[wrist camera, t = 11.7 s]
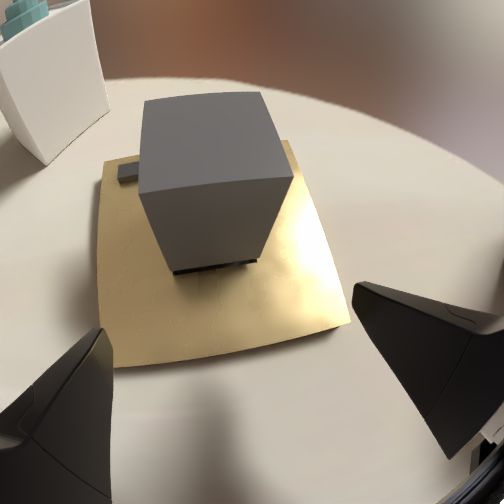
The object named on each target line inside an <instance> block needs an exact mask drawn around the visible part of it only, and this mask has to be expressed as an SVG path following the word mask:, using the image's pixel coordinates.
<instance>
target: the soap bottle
mask: <svg viewBox="0 0 504 504" xmlns="http://www.w3.org/2000/svg"><path fill="white" fill-rule="evenodd" d="M5 15H6V19H7V22H5V23H4V24H2V25H1V26H0V30H1V33H2V35H1V36H0V110H1V112H2V113H3V115H4V117H5V119H6V121H7V123H8V125H9V126H10V128H11V130H12V132H13V133H14V135H15V137H16V138H17V140H18V141H19V142H20V143H21V144H22V145H23V146H24V147H25V148H26V149H27V150H28V151H30V152H31V153H32V154H33V155H34V156H35V157H36V158H37V159H38V160H40V161H41V162H42V163H43V164H44V165H46V166H47V165H48V164H49V163H50V162H51V161H52V160H53V159H54V158H55V157H56V156H57V155H58V154H59V153H60V152H62V151H63V150H64V149H65V148H66V147H67V146H68V145H69V144H70V143H71V142H72V141H73V140H75V139H76V138H77V137H78V136H79V135H80V134H81V133H83V132H84V131H85V130H86V129H87V128H88V127H90V126H91V125H92V124H93V123H94V122H96V121H97V120H98V119H99V118H101V117H102V116H103V115H105V114H106V113H107V112H109V111H110V110H111V106H110V102H109V99H108V95H107V91H106V87H105V83H104V79H103V74H102V70H101V65H100V61H99V56H98V51H97V46H96V41H95V36H94V29H93V23H92V17H91V9H90V3H89V0H73V1H68V2H63V3H60V4H56V5H52V6H49V7H48V5H47V1H43V2H40V3H38V0H13V4H11V5H10V6H8V7H7V8H6V9H5Z"/></svg>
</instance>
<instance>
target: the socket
mask: <svg viewBox="0 0 504 504" xmlns="http://www.w3.org/2000/svg"><path fill="white" fill-rule="evenodd" d="M280 141H281V143H282V146H283V148H284V151H285V153H286V156H287V159H288V161H289V164H290V166H291V169H292V172H293V175H294V178H293V180H292V183H291V185H290V187H289V190H288V192H287V195H286V197H285V199H284V202H283V204H282V206H281V209H280V211H279V213H278V216H277V218H276V221H275V223H274V225H273V228H272V230H271V232H270V235H269V237H268V239H267V242H266V244H265V246H264V249H263V251H262V253H261V256H260V258H257V259H250V260H243V261H237V262H230V263H224V264H217V265H210V266H204V267H197V268H190V269H183V270H177V271H170V270H169V268H168V266H167V263H166V261H165V259H164V256H163V254H162V252H161V250H160V247H159V245H158V243H157V240H156V238H155V235H154V233H153V231H152V228H151V226H150V223H149V221H148V218H147V216H146V213H145V211H144V208H143V205H142V203H141V200H140V197H139V195H138V180H139V157H140V155H135V156H130V157H125V158H120V159H115V160H111V161H106V162H104V166H103V174H102V182H101V191H100V202H99V214H98V233H97V288H98V306H99V319H100V328H104V329H105V331H106V333H107V335H108V338H109V340H110V342H111V344H112V347H113V368H120V367H132V366H143V365H152V364H161V363H169V362H177V361H184V360H191V359H197V358H204V357H210V356H215V355H221V354H227V353H232V352H237V351H242V350H247V349H252V348H257V347H261V346H266V345H270V344H274V343H279V342H283V341H287V340H291V339H295V338H299V337H303V336H307V335H310V334H314V333H318V332H321V331H325V330H328V329H332V328H335V327H338V326H342V325H345V324H347V323H350V322H351V321H350V317H349V313H348V310H347V306H346V303H345V299H344V296H343V292H342V289H341V286H340V282H339V279H338V276H337V272H336V269H335V266H334V263H333V260H332V257H331V254H330V251H329V248H328V245H327V242H326V239H325V236H324V233H323V230H322V227H321V224H320V221H319V219H318V216H317V213H316V210H315V208H314V205H313V202H312V200H311V197H310V194H309V192H308V189H307V186H306V184H305V181H304V179H303V176H302V174H301V171H300V169H299V166H298V164H297V161H296V159H295V156H294V154H293V152H292V149H291V147H290V145H289V142H288V140H280Z"/></svg>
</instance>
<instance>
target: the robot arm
mask: <svg viewBox="0 0 504 504" xmlns="http://www.w3.org/2000/svg"><path fill="white" fill-rule="evenodd" d="M352 307H353V309H354V311H355V313H356V315H357V316H358V318H359V320H360V322H361V323H362V325H363V327H364V329H365V331H366V332H367V334H368V336H369V338H370V339H371V341H372V342H373V343H374V345H375V346H376V348H377V349H378V351H379V352H380V354H381V355H382V356H383V358H384V359H385V361H386V362H387V364H388V365H389V367H390V368H391V370H392V371H393V373H394V374H395V375H396V377H397V378H398V380H399V381H400V383H401V384H402V386H403V387H404V389H405V391H406V392H407V394H408V395H409V397H410V398H411V400H412V401H413V403H414V404H415V406H416V408H417V409H418V411H419V412H420V414H421V415H422V417H423V419H424V420H425V422H426V424H427V425H428V427H429V428H430V430H431V432H432V433H433V435H434V437H435V438H436V440H437V442H438V443H439V445H440V447H441V448H442V450H443V452H444V454H445V455H446V457H447V458H448V459H449V460H450V459H451V458H453V457H454V456H455V455H456V454H457V453H458V452H460V451H461V450H462V449H463V448H464V447H465V446H466V445H467V444H468V443H469V442H470V441H471V440H473V439H474V438H475V437H476V436H477V435H478V434H479V433H480V432H481V434H482V435H483V436H484V437H485V439H484V440H483V441H482V442H481V443H480V444H479V445H478V446H477V447H476V448H475V449H474V450H473V451H472V457H471V465H470V473H469V476H468V477H467V478H466V479H465V480H464V481H463V482H462V483H460V484H459V485H458V486H457V487H456V488H455V489H454V490H452V491H451V492H450V493H449V494H448V495H446V496H445V497H444V498H443V499H442V500H440V501H439V502H438V503H436V504H504V315H494V314H490V313H485V312H480V311H475V310H470V309H466V308H462V307H458V306H454V305H450V304H446V303H442V302H439V301H435V300H432V299H428V298H424V297H421V296H417V295H413V294H410V293H406V292H403V291H399V290H395V289H392V288H388V287H384V286H381V285H377V284H373V283H370V282H366V281H363V282H359V283H356V284H355V285H354V289H353V296H352ZM112 401H113V347H112V344H111V342H110V340H109V338H108V335H107V333H106V331H105V329H104V328H93V329H92V330H90V331H89V332H88V333H87V334H86V335H85V336H84V337H83V338H81V339H80V340H79V341H78V342H77V343H76V344H75V345H74V346H72V347H71V348H70V349H69V350H68V351H67V352H66V353H65V354H64V355H63V356H61V357H60V358H59V359H58V360H57V361H56V362H55V363H54V364H53V365H52V366H51V367H50V368H49V369H47V370H46V371H45V372H44V373H43V374H42V375H41V376H40V377H39V378H38V379H37V380H36V381H35V382H34V383H33V385H31V386H30V387H29V388H28V389H27V390H26V391H25V392H23V393H22V394H21V395H20V396H19V397H18V398H17V399H16V400H15V401H14V402H13V403H11V404H10V405H9V406H8V407H7V408H6V409H5V410H3V411H2V412H1V413H0V504H112V500H111V479H110V434H111V414H112Z"/></svg>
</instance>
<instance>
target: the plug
mask: <svg viewBox="0 0 504 504" xmlns="http://www.w3.org/2000/svg"><path fill="white" fill-rule="evenodd" d="M293 178H294V175H293V172H292V169H291V166H290V164H289V161H288V159H287V156H286V153H285V151H284V148H283V146H282V143H281V141H280V138H279V136H278V133H277V131H276V128H275V126H274V124H273V121H272V119H271V116H270V114H269V112H268V109H267V107H266V105H265V102H264V100H263V98H262V96H261V93H260V92H224V93H207V94H195V95H185V96H177V97H169V98H162V99H155V100H149V101H145V102H144V111H143V120H142V130H141V142H140V157H139V180H138V195H139V197H140V200H141V203H142V205H143V208H144V211H145V213H146V216H147V218H148V221H149V223H150V226H151V228H152V231H153V233H154V235H155V238H156V240H157V243H158V245H159V247H160V250H161V252H162V254H163V256H164V259H165V261H166V263H167V266H168V268H169V270H170V271H177V270H183V269H190V268H197V267H204V266H210V265H217V264H224V263H230V262H237V261H243V260H250V259H257V258H260V256H261V253H262V251H263V249H264V246H265V244H266V242H267V239H268V237H269V235H270V232H271V230H272V228H273V225H274V223H275V221H276V218H277V216H278V213H279V211H280V209H281V206H282V204H283V202H284V199H285V197H286V195H287V192H288V190H289V187H290V185H291V183H292V180H293Z"/></svg>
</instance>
